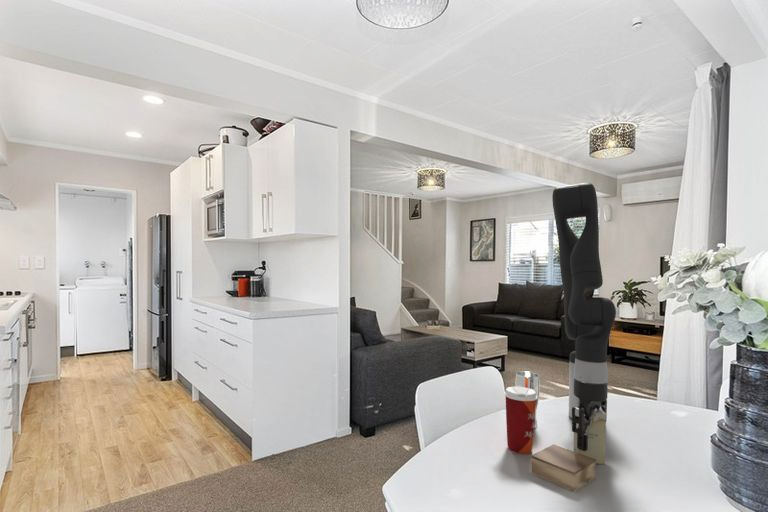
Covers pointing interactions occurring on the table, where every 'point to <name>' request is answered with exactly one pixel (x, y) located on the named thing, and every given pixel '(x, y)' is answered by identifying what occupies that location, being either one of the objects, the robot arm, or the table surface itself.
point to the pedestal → (563, 467)
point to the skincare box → (595, 438)
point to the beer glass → (529, 385)
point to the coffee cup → (520, 418)
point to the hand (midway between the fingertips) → (589, 445)
